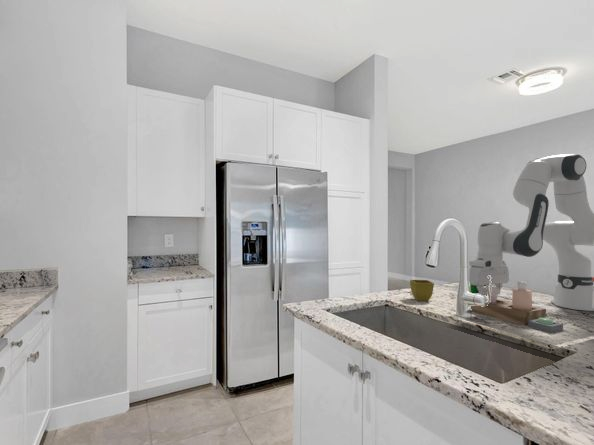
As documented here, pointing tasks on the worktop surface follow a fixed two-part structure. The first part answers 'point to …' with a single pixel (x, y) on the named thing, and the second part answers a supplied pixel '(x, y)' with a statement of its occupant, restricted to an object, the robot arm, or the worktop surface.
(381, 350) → the worktop surface
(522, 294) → the bottle
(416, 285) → the flower pot
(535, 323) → the button housing
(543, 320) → the button
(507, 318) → the pallet
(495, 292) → the smoothie
